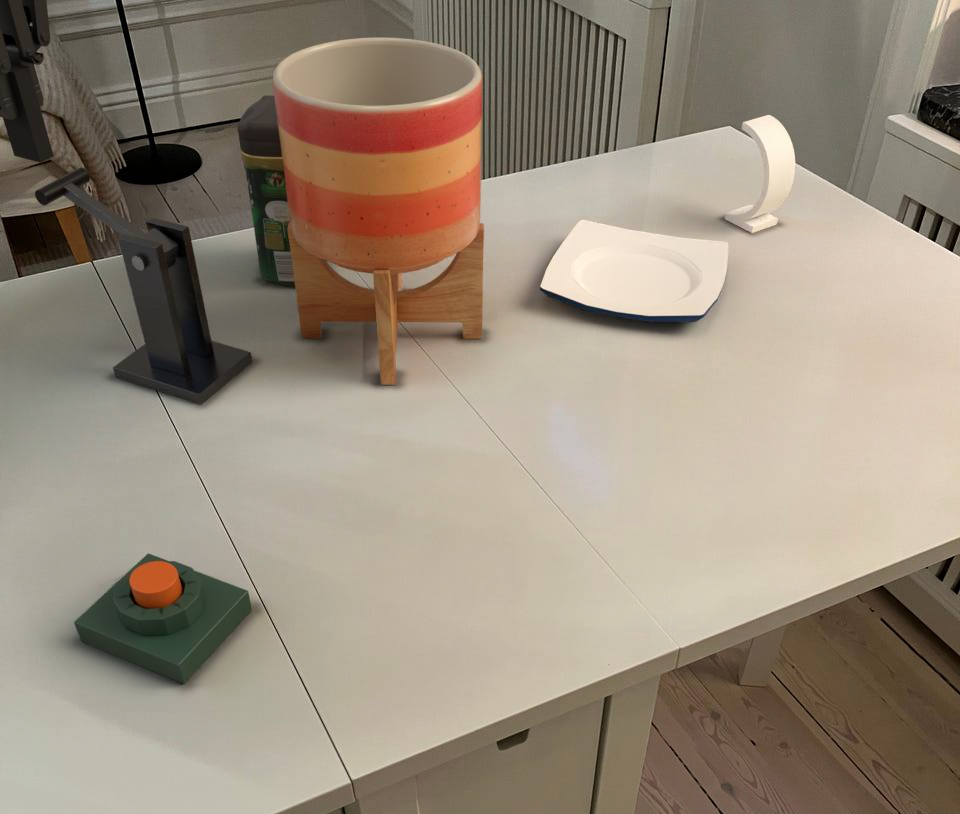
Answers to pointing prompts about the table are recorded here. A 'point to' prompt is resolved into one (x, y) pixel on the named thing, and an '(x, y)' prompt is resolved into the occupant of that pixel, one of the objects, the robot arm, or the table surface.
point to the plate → (636, 273)
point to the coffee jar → (267, 189)
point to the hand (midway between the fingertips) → (33, 155)
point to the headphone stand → (768, 174)
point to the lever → (101, 210)
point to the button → (155, 584)
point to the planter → (383, 183)
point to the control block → (166, 622)
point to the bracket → (173, 322)
